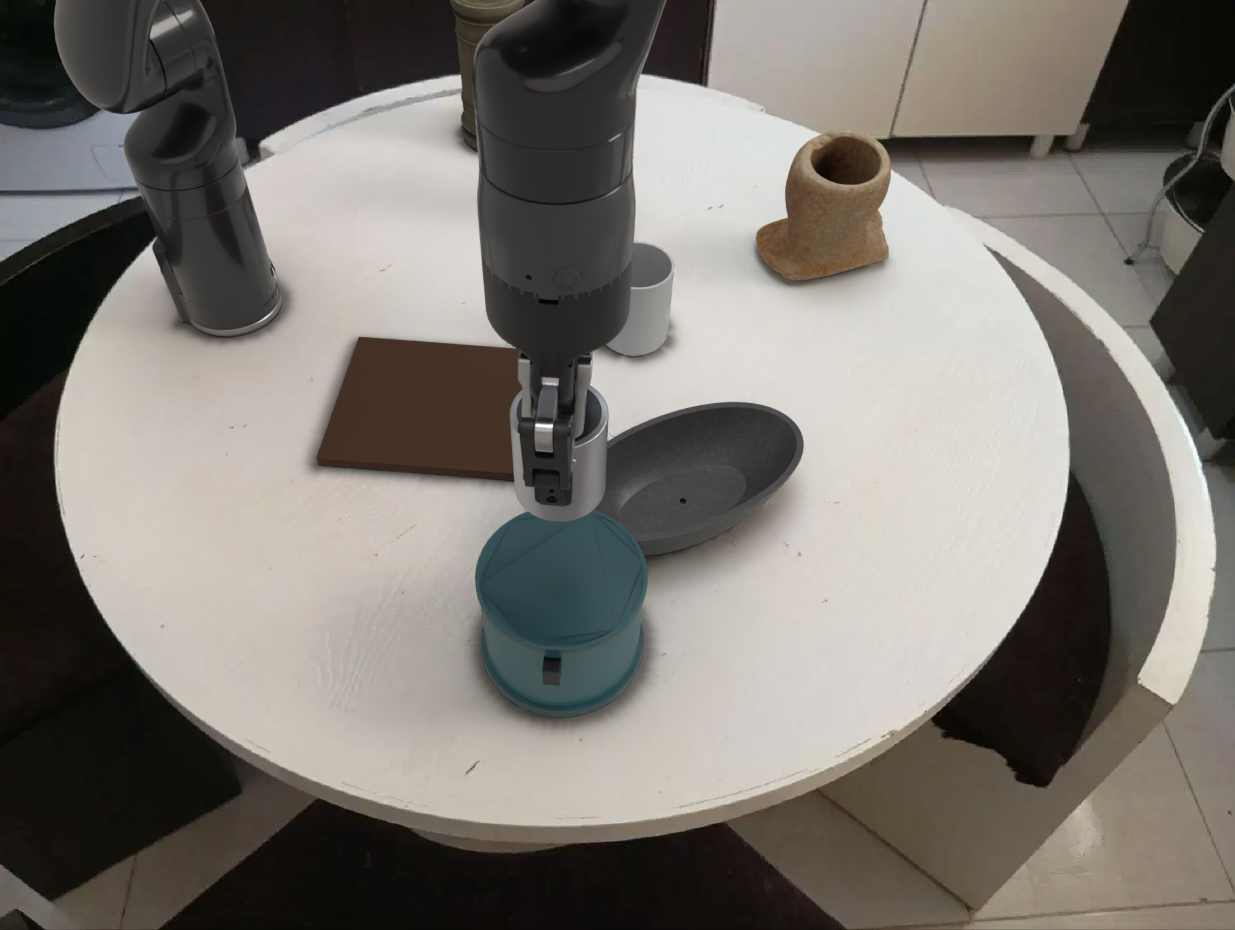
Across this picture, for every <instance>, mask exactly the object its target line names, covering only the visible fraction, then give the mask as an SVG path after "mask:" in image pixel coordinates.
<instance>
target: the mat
mask: <svg viewBox="0 0 1235 930" xmlns="http://www.w3.org/2000/svg"><path fill="white" fill-rule="evenodd" d="M519 352H520V351H519V350H518V349H516V348H515V347H500V346H490V345H489V346H487V345H477V344H462V343H449V342H436V341H425V340H423V341H421V340H409V339H397V338H381V337H371V336H358V338H357V340H356V343H355V346H354V349H353V352H352V355H351V358H350V360H349V363H348V366H347V369H346V372H345V375H344V377H343V380H342V383H341V386H340V389H339V392H338V396H337V398H336V401H335V403H334V406H333V409H332V411H331V414H330V416H329V417H330V418H329V421H328V423H327V426H326V429H325V432H324V435H323V436H322V440H321V442H320V446H319V448H318V452H317V454H316V457H315V459H316V463H317V465H318V466H325V467H326V466H327V467H340V468H351V469H352V468H353V469H365V470H376V471H377V470H378V471H390V472H402V473H416V474H427V475H428V474H429V475H440V476H441V475H442V476H453V477H466V478H479V479H490V480H492V479H493V480H504V481H514V469H513V454H512V440H511V425H510V408H511V405H512V402H513V400H514V399H515V397H516V396H517V394H518V393H519V392H520V391H521V390H522V385H521V384H520V383H519V381H518V359H519Z"/></svg>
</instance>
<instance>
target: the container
mask: <svg viewBox="0 0 1235 930" xmlns="http://www.w3.org/2000/svg"><path fill="white" fill-rule="evenodd" d="M525 2H526V0H449V3H450V5H451V7H452V12H453V15H454V17H455V27H454V32H455V34H456V41H457V50H458V60H459V71H460V82H461V94H460V99H461V102H462V113H461V116H460V122H461V127H460V131H461V136H462V139H463V141H464V143H466V144H467V146H469V147H470V148H471V149H473V150H476V151H478V146H477V133H476V121H475V109H474V97H473V81H472V72H473V59H474V54H475V50H476V48H477V45H478V43H479V42H480V41H481V39H482V38H483V36H484V35H485V34H486V33H487V32H488V31H489V30H490V29H491V28H492V27H493V26H495V25H496V24H498V23H499V22H501V21H503V20H504V19H506V18H507V17H509V16H510V15H512V14H514V13H515V12H517V11H519V10H521V9H522V8H524V4H525Z"/></svg>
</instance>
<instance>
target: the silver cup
mask: <svg viewBox="0 0 1235 930" xmlns="http://www.w3.org/2000/svg"><path fill="white" fill-rule="evenodd" d="M575 401H576V397H575ZM575 401H574V405H572V406H571V407H569V408H566V409H558V410H557V415H572V414H574V413H575ZM534 408H535V410H536V411H538V403H537V402H536V401H535V399H534ZM609 416H610V415H609V406H608V404H607V401H606V400H605V397H604V396H603V395H602V394H601V392H600V391H599V390H597V389H596V388H595V387H593V386H592V385H590V386H589V388H588V389H587V393H586V412H585V424H584V429H583V433H582V434H581V435H580V436H579V437H576V438H575V451H574V457H576V466H573V495H572V502H571V504H570V505H568V506H564V507H563V506H551V505H540V503H538V502H536V501H535V493H534V487H525V482H524V480H523V464H522V455H521V446H520V436H519V434H520V433H518V423H520V422H521V417H522V390H521V391H520V392H519V393H518V394H517V396H516V397H515V399H514V400H513V402H512V405H511V408H510V425H511V440H512V454H513V469H514V480H513V481H514V482H513V484H514V492H515V496H516V498H517V500H518V502H519V504H520V505H521V506H522V507H523V508H524V510H525V511H526V512H527V511H528V512H530V513H531V514H533V515H534V516H536V517H538V518H541V519H544V520H548V521H555V522H564V521H571V520H575V519H579V518H581V517H583V516H585V515H587V514H589V513H590V512H591V511H593V510H594V509H595V508H596V507H597V506H598V504H599V503H600V502H601V500H602V498H603V496H604V493H605V483H606V462H607V441H609V440H608V439H609V438H608V437H609Z"/></svg>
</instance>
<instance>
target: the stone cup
mask: <svg viewBox="0 0 1235 930" xmlns="http://www.w3.org/2000/svg"><path fill="white" fill-rule="evenodd" d="M792 159H793V160H792V162H791V164H790V167H789V170H788V174H787V178H786V181H785V188H784V202H785V210H786V216H787V217H785V218H780V219H778V220H775V221H771V222H769V223H767V224H765V225H763V226H761V227H760V228H758V229H757V231H756V235H755V244H756V248H757V251H758V253H759V255H760V257H761V258H762V260H763V261H764V262H765V264H766V265H767V266H768V267H769V268H770V269H771V270H772V271H774V272H775V273H778V274H779V275H781V276H782V277H783V278H785V279H787V280H790V281H791V280H793V281H804V280H805V281H806V280H814V279H821V278H825V277H829V276H832V275H837V274H840V273H843V272H848V271H852V270H855V269H859V268H862V267H865V266H869V265H871V264H875V263H878V262H883V261H884V260H886V259H889V256H890V252H889V249H890V248H889V245H888V242H887V239H886V236H885V235H886V234H885V232H884V230H883V225H884V222H883V216H882V215H881V212H880V210H879V209H880V207H881V206H882V204H883V203H884V201H885V199H886V197H887V194H888V192H889V187H890V183H891V179H892V178H891V177H892V163H891V158H890V155H889V153H888V151H887V149H886V148H885V146H884V145H883V144H882V143H881V142H880V141H878V140H877V139H876V138H874V137H872V136H871V135H868V134H867V133H865V132H861V131H857V130H852V129H836V130H835V129H834V130H830V131H827V132H824V133H821V134H819V135H817V136H815V137H812V138H811V139H809V140H808V141H807V142H805V143H804V144H803V145H802V146H801V147H800V148H799V149H798V151H796V154H795V155H794V157H793V158H792Z"/></svg>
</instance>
